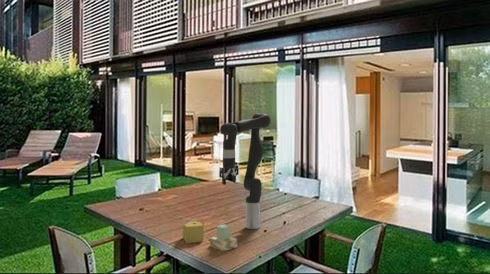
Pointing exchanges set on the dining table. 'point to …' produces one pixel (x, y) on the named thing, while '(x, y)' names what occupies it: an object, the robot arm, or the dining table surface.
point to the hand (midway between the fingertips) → (229, 183)
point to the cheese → (193, 232)
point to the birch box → (223, 243)
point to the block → (223, 232)
